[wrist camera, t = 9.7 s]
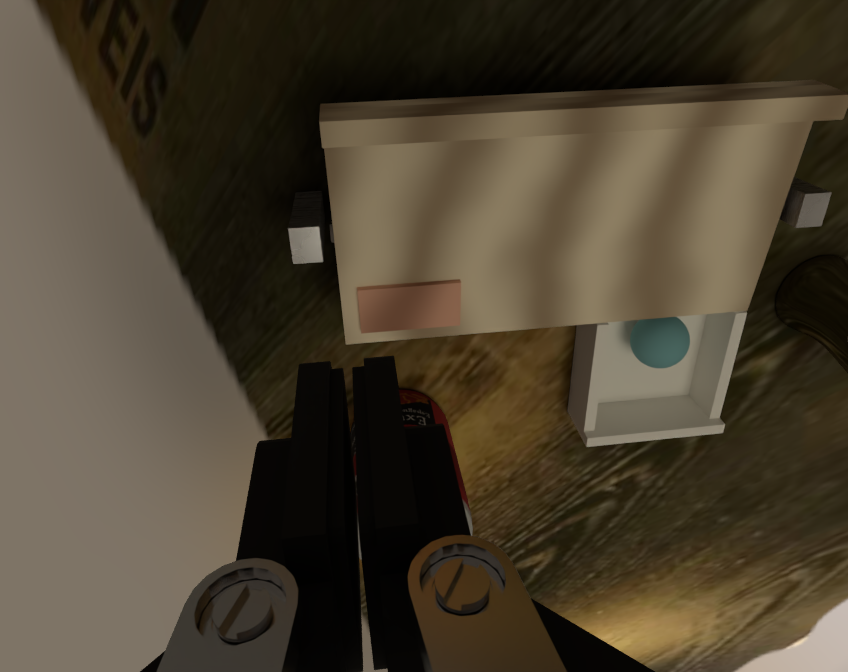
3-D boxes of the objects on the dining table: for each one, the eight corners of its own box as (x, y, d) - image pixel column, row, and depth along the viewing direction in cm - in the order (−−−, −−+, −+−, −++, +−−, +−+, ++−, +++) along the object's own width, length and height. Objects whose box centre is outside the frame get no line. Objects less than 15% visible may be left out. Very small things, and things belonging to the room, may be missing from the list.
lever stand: (762, 163, 41) (831, 192, 35) (755, 193, 42) (821, 225, 36) (295, 192, 38) (288, 228, 32) (299, 223, 39) (293, 263, 33)
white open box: (580, 291, 44) (603, 320, 40) (721, 280, 45) (756, 307, 41) (567, 411, 49) (586, 446, 45) (693, 399, 50) (722, 432, 46)
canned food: (428, 372, 46) (451, 473, 36) (460, 448, 50) (489, 557, 40) (332, 406, 46) (331, 515, 37) (372, 479, 50) (380, 594, 41)
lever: (811, 77, 33) (856, 94, 30) (737, 298, 41) (767, 327, 38) (316, 101, 31) (314, 122, 28) (342, 330, 39) (343, 364, 36)
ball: (649, 332, 41) (640, 381, 43) (706, 327, 41) (694, 376, 43) (625, 304, 44) (617, 351, 46) (678, 300, 45) (668, 347, 47)
